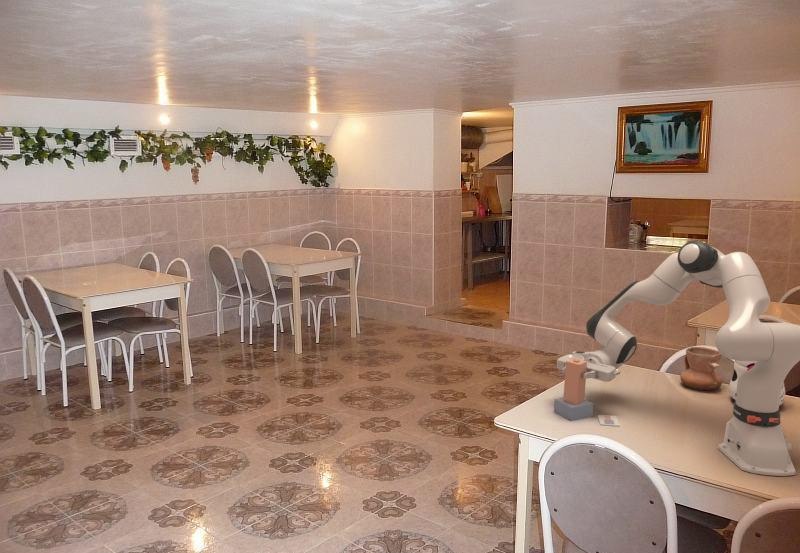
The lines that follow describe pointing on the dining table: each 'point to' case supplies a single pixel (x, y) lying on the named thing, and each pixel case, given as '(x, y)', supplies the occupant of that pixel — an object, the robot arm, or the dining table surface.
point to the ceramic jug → (701, 368)
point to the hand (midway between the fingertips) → (573, 373)
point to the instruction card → (608, 420)
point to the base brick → (573, 409)
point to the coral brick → (574, 381)
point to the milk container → (740, 369)
